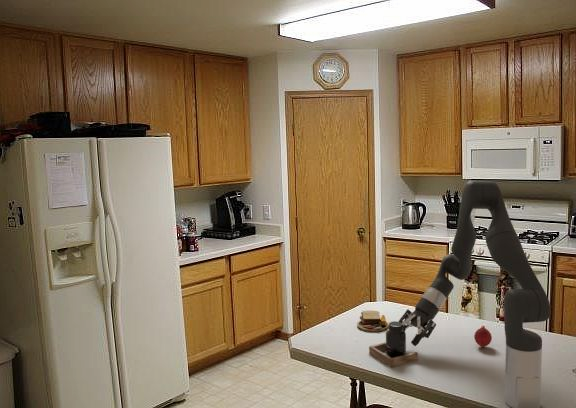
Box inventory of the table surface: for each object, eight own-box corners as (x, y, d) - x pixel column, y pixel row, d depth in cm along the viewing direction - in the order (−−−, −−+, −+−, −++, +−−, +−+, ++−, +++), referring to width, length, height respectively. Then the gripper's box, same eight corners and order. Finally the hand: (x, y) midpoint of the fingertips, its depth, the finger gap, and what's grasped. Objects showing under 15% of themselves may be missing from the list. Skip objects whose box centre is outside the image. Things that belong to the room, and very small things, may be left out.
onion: (492, 351, 184) (493, 329, 183) (475, 350, 185) (475, 328, 184) (490, 344, 189) (490, 323, 188) (473, 343, 191) (473, 322, 190)
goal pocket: (394, 346, 191) (394, 340, 191) (417, 359, 179) (417, 352, 179) (369, 353, 186) (369, 346, 186) (391, 367, 175) (391, 359, 174)
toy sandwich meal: (356, 332, 206) (356, 321, 206) (357, 320, 219) (357, 309, 219) (389, 333, 204) (389, 321, 204) (388, 320, 218) (388, 309, 217)
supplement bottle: (382, 357, 182) (381, 324, 180) (392, 351, 187) (391, 318, 185) (400, 362, 178) (399, 328, 176) (409, 355, 183) (409, 322, 181)
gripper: (411, 292, 193) (386, 328, 189) (438, 302, 180) (412, 341, 177) (423, 303, 196) (398, 339, 192) (450, 314, 183) (424, 353, 179)
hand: (405, 340), depth 184 cm, fingers open, 8 cm apart
